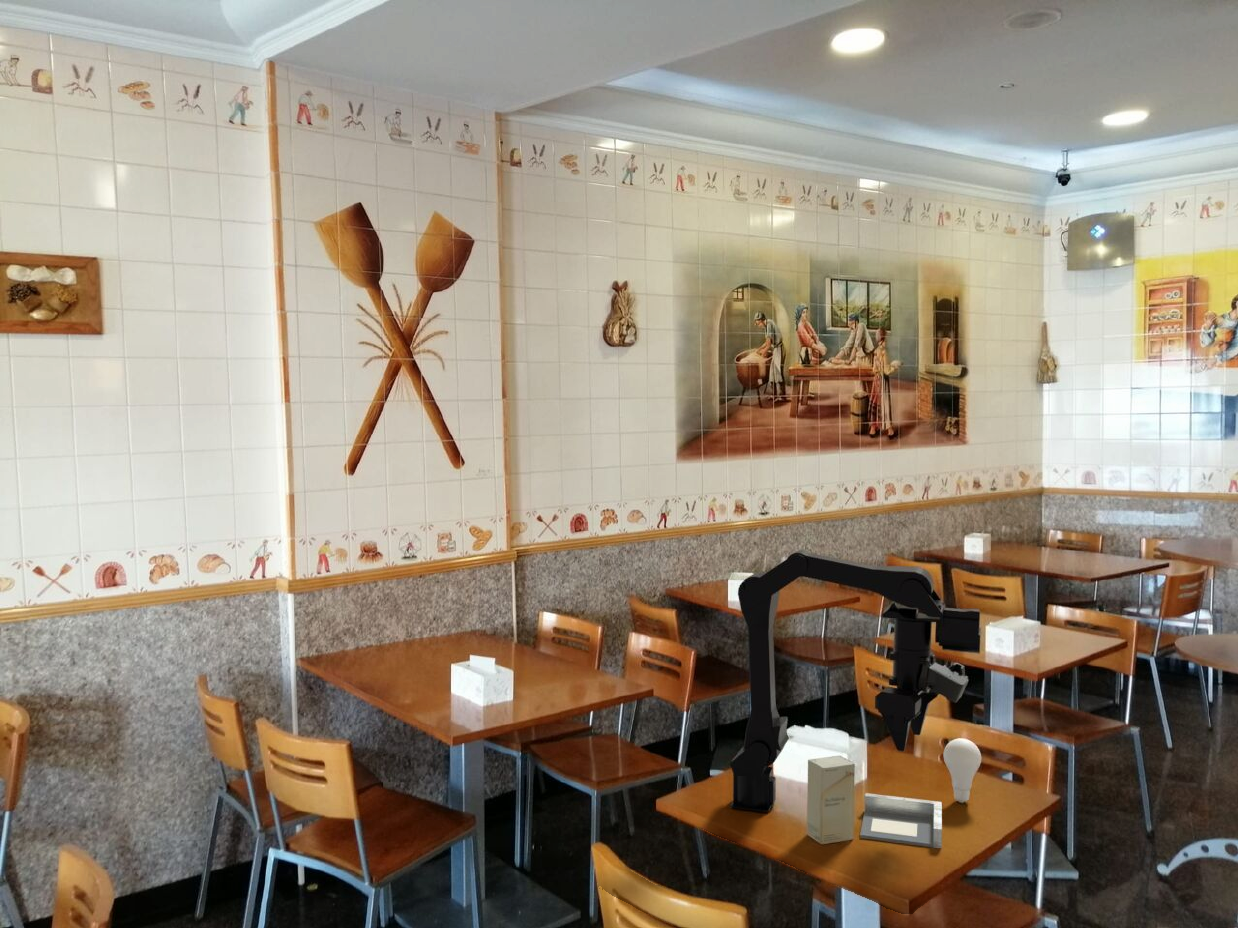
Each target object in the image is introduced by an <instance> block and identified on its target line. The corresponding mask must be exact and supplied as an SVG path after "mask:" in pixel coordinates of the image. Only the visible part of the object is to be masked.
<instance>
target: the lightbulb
mask: <svg viewBox="0 0 1238 928" xmlns="http://www.w3.org/2000/svg"><path fill="white" fill-rule="evenodd" d="M943 760H944V761H943V762H944V763H945V766H946V767H947V769H948V771H949V773H950V778H951V786H952V787H953V798H954V799H955V800H956V801H958V802H959V803H961V804H963V803H965V802H967V801H969V800H970V793H971V789H972V784H973V778H975V777H974V776H975V775H976V773H977V771H978V770H979V768H980V766H981V763H982V754H981V751H980V749H979V748H978V746H977V745H976V743H974V742H973V741H971V740H969V739H967V738H959V737H958V738H955V739H952V740H950V741H949V742H948V743H947V744H946V746H945V747H944V750H943Z"/></svg>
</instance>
